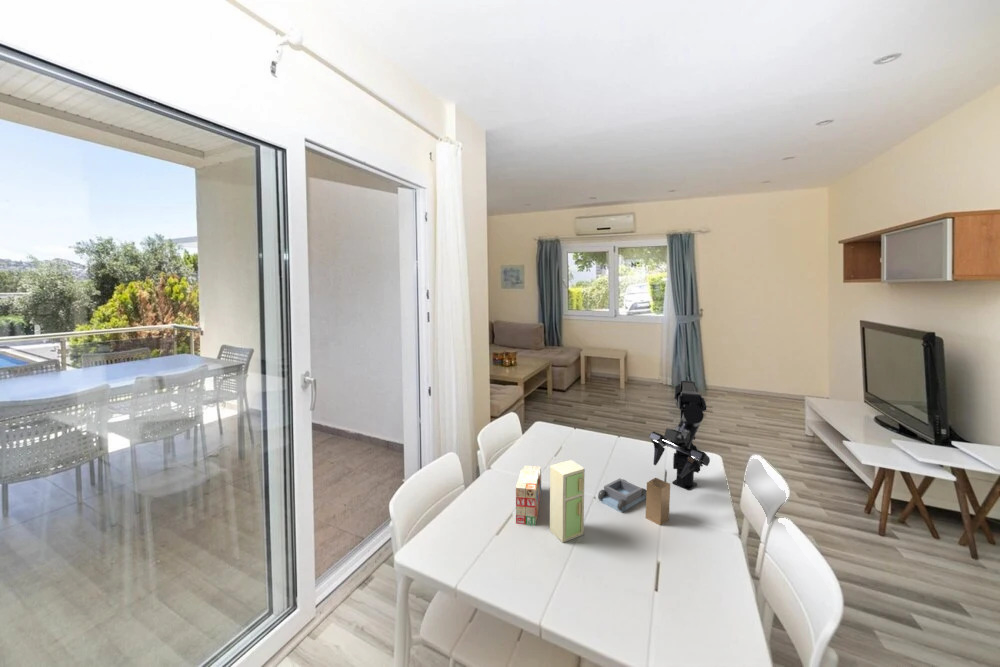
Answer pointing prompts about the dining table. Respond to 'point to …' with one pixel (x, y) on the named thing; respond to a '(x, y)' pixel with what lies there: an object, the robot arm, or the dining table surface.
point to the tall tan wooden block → (657, 501)
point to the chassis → (621, 495)
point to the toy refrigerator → (567, 500)
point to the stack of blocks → (528, 495)
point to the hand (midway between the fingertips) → (667, 471)
